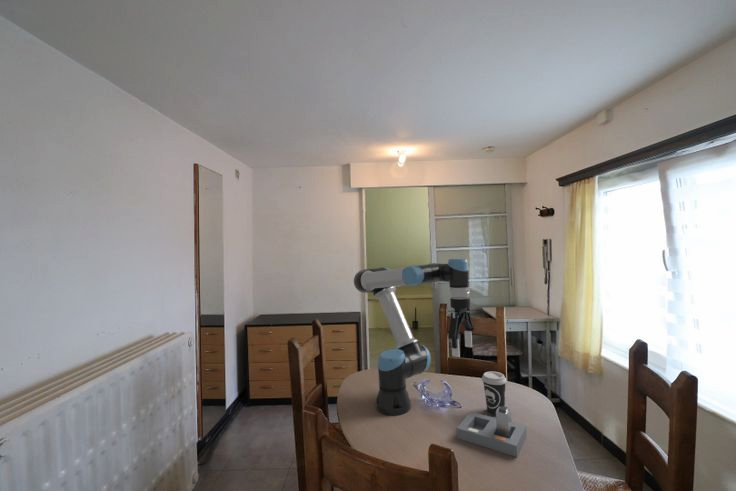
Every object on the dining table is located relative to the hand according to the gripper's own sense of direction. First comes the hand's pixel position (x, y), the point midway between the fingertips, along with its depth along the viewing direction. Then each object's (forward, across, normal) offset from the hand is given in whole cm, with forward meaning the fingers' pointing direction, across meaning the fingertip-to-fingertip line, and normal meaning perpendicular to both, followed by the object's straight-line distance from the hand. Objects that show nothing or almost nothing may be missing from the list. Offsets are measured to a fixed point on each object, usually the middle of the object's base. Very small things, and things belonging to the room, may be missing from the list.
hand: (462, 351), depth 131 cm
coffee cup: (+27, +12, -8) cm, 31 cm away
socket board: (+27, -7, -12) cm, 30 cm away
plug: (+26, -7, -16) cm, 32 cm away
